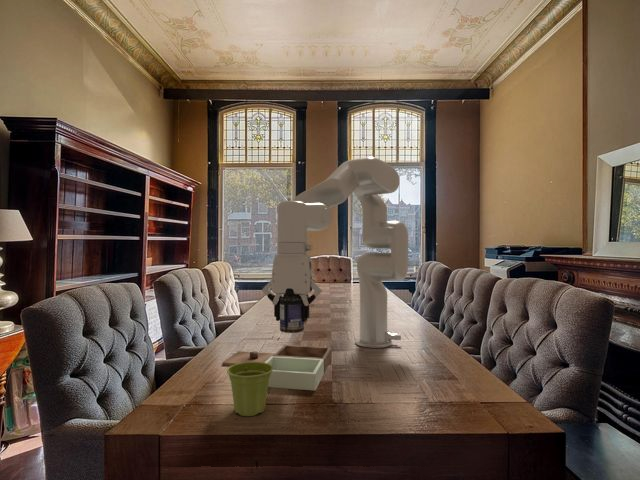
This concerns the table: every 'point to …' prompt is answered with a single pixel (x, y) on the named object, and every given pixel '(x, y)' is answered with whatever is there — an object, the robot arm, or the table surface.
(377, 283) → the robot arm
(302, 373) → the sage box
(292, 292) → the pill bottle
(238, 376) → the plant pot
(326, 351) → the walnut box
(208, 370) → the table surface
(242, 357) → the walnut lid
